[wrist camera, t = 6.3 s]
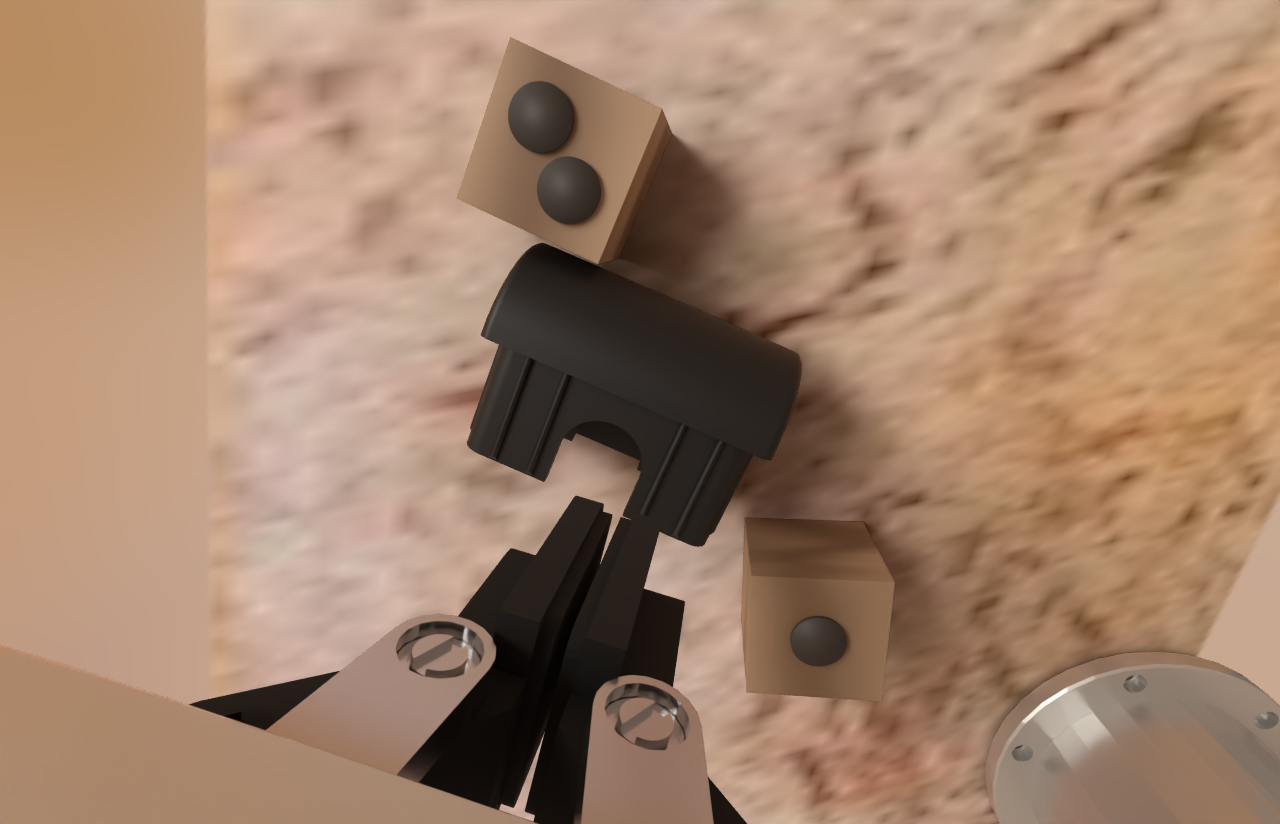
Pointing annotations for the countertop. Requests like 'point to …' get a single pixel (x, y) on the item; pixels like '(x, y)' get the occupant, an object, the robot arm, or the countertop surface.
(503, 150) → the marked block
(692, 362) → the black arched block
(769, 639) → the marked block
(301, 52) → the countertop surface
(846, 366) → the countertop surface
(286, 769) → the robot arm
